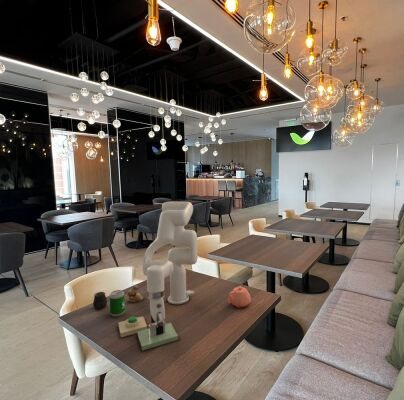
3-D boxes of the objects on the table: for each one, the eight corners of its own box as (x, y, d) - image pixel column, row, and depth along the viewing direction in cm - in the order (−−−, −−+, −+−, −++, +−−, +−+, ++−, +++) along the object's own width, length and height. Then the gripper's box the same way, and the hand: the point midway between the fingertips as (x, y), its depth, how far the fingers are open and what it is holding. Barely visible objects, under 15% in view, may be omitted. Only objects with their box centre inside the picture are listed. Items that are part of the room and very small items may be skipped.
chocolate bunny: (131, 297, 162) (131, 282, 161) (143, 298, 160) (143, 282, 159) (127, 302, 156) (126, 285, 155) (139, 303, 155) (138, 286, 154)
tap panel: (170, 326, 132) (170, 322, 131) (178, 339, 121) (178, 335, 121) (137, 335, 124) (137, 331, 124) (142, 350, 114) (141, 346, 113)
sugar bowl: (254, 306, 151) (254, 289, 150) (233, 312, 144) (233, 294, 143) (243, 297, 162) (243, 281, 160) (223, 302, 155) (223, 285, 154)
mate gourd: (107, 303, 155) (106, 286, 154) (107, 309, 148) (106, 292, 147) (94, 305, 153) (93, 288, 152) (92, 311, 146) (91, 294, 145)
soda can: (120, 318, 139) (118, 296, 138) (107, 316, 141) (106, 295, 139) (128, 310, 146) (127, 290, 145) (115, 309, 148) (114, 288, 147)
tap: (164, 330, 125) (163, 319, 124) (165, 332, 123) (165, 321, 123) (149, 334, 122) (148, 323, 121) (150, 336, 120) (149, 326, 119)
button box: (143, 320, 137) (143, 312, 137) (147, 330, 128) (147, 322, 128) (118, 326, 132) (118, 318, 131) (120, 337, 123) (120, 329, 122)
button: (135, 318, 132) (135, 315, 132) (136, 322, 129) (136, 318, 129) (128, 320, 130) (127, 317, 130) (129, 324, 127) (128, 320, 127)
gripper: (169, 299, 114) (170, 336, 116) (159, 284, 130) (160, 317, 132) (151, 303, 111) (153, 341, 113) (143, 287, 126) (145, 321, 128)
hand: (157, 328), depth 122 cm, fingers open, 9 cm apart
